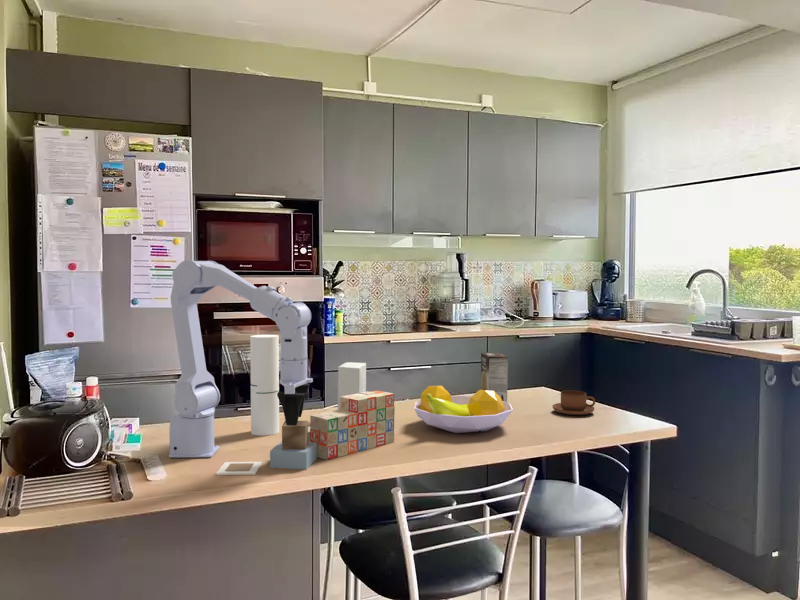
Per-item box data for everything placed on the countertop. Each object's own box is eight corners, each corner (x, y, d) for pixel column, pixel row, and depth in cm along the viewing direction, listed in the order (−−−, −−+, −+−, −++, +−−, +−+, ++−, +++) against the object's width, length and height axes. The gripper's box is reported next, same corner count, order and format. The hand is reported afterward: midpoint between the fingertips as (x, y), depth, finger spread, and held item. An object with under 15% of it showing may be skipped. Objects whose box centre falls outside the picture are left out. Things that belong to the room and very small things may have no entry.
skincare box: (345, 415, 188) (345, 361, 187) (367, 416, 187) (367, 362, 186) (336, 422, 180) (336, 366, 179) (359, 423, 178) (359, 366, 178)
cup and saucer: (586, 408, 198) (587, 388, 198) (600, 417, 186) (600, 396, 186) (547, 409, 198) (548, 389, 198) (558, 418, 186) (559, 396, 186)
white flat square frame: (215, 474, 133) (215, 473, 133) (225, 463, 141) (225, 461, 141) (255, 474, 134) (255, 472, 134) (262, 463, 142) (262, 461, 142)
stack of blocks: (327, 461, 144) (326, 405, 143) (309, 455, 148) (309, 401, 148) (394, 442, 159) (394, 392, 159) (377, 437, 164) (377, 389, 163)
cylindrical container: (265, 427, 173) (265, 334, 172) (285, 431, 169) (284, 335, 168) (245, 432, 168) (244, 336, 166) (264, 437, 164) (263, 338, 162)
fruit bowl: (468, 412, 193) (469, 374, 193) (533, 431, 170) (534, 388, 170) (388, 424, 178) (388, 382, 177) (448, 446, 155) (448, 399, 155)
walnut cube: (282, 449, 139) (281, 426, 139) (285, 443, 144) (285, 420, 144) (305, 449, 139) (305, 426, 139) (307, 442, 144) (307, 420, 144)
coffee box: (480, 403, 206) (480, 352, 205) (499, 402, 206) (500, 352, 206) (487, 409, 197) (487, 356, 196) (507, 408, 197) (508, 355, 197)
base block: (270, 469, 139) (270, 450, 138) (282, 458, 146) (282, 440, 146) (306, 470, 137) (306, 452, 137) (316, 459, 145) (316, 442, 145)
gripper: (308, 363, 134) (309, 429, 134) (315, 354, 148) (315, 413, 149) (274, 363, 133) (274, 429, 134) (284, 354, 148) (284, 413, 149)
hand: (294, 420), depth 141 cm, fingers open, 7 cm apart
